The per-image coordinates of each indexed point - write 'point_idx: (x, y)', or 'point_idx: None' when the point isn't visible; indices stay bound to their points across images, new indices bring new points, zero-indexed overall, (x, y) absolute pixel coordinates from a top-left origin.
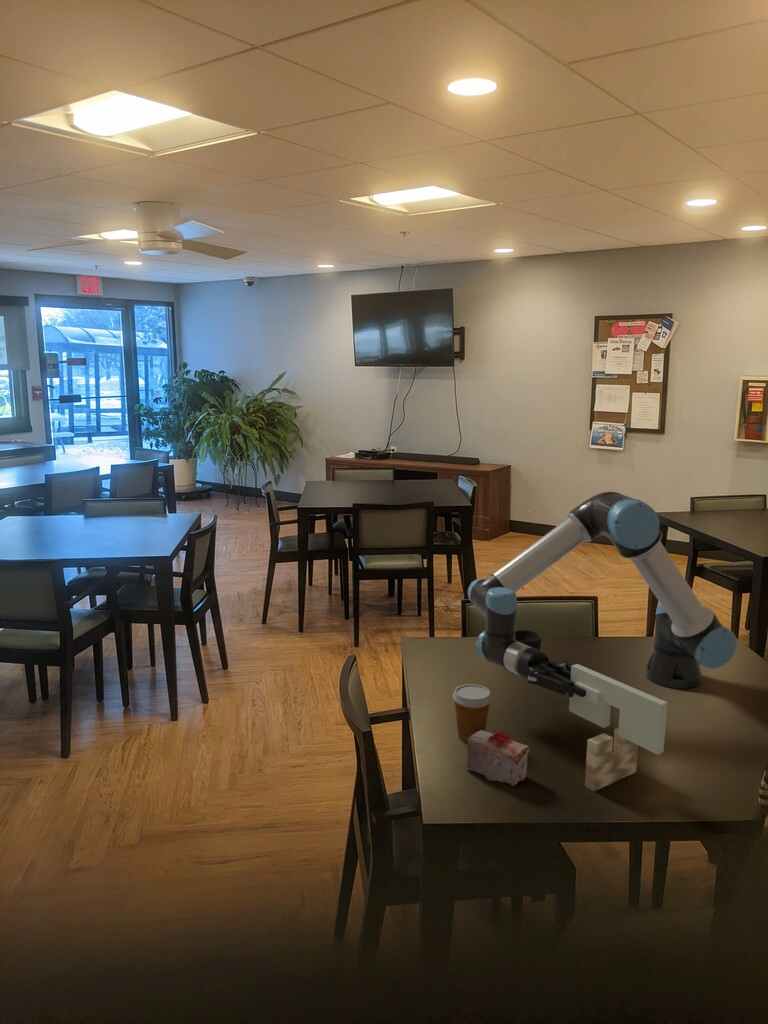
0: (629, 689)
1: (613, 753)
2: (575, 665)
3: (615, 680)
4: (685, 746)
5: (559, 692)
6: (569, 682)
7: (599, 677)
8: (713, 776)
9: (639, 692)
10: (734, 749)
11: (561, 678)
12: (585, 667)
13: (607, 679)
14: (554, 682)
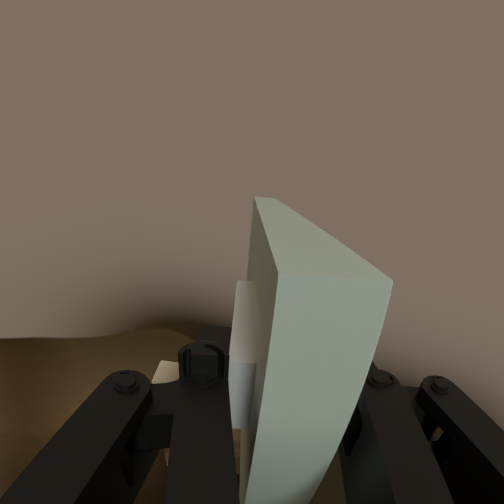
0: (276, 204)
1: (234, 434)
2: (338, 269)
3: (260, 208)
4: (16, 403)
5: (433, 443)
6: (389, 389)
7: (302, 218)
8: (97, 365)
9: (266, 201)
10: (6, 355)
11: (425, 457)
12: (272, 241)
13: (283, 213)
14: (489, 425)
